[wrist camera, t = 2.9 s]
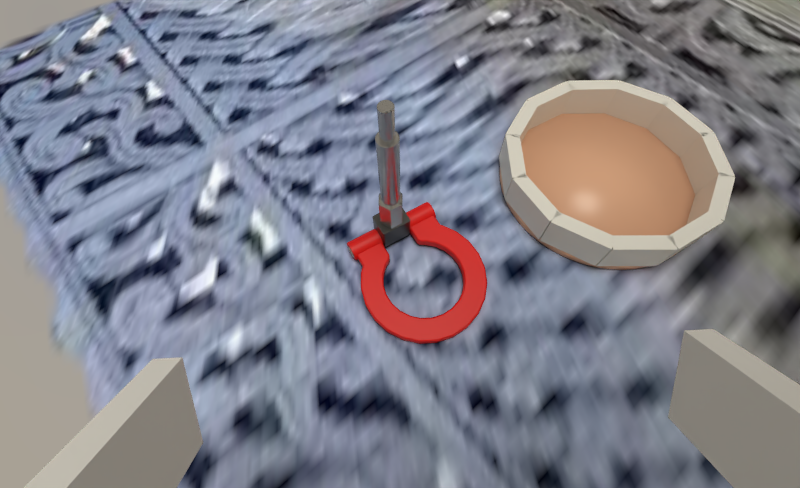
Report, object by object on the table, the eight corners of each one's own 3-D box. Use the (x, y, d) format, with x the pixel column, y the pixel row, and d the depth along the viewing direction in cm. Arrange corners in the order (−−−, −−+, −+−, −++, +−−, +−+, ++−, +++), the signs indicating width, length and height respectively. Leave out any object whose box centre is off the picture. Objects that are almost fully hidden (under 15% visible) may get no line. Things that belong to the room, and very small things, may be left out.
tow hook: (508, 304, 27) (435, 202, 30) (591, 209, 15) (456, 59, 18) (400, 369, 25) (336, 253, 28) (399, 319, 13) (289, 131, 17)
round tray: (603, 87, 35) (619, 56, 32) (746, 210, 29) (781, 185, 26) (462, 154, 32) (467, 126, 29) (589, 308, 26) (610, 291, 23)
